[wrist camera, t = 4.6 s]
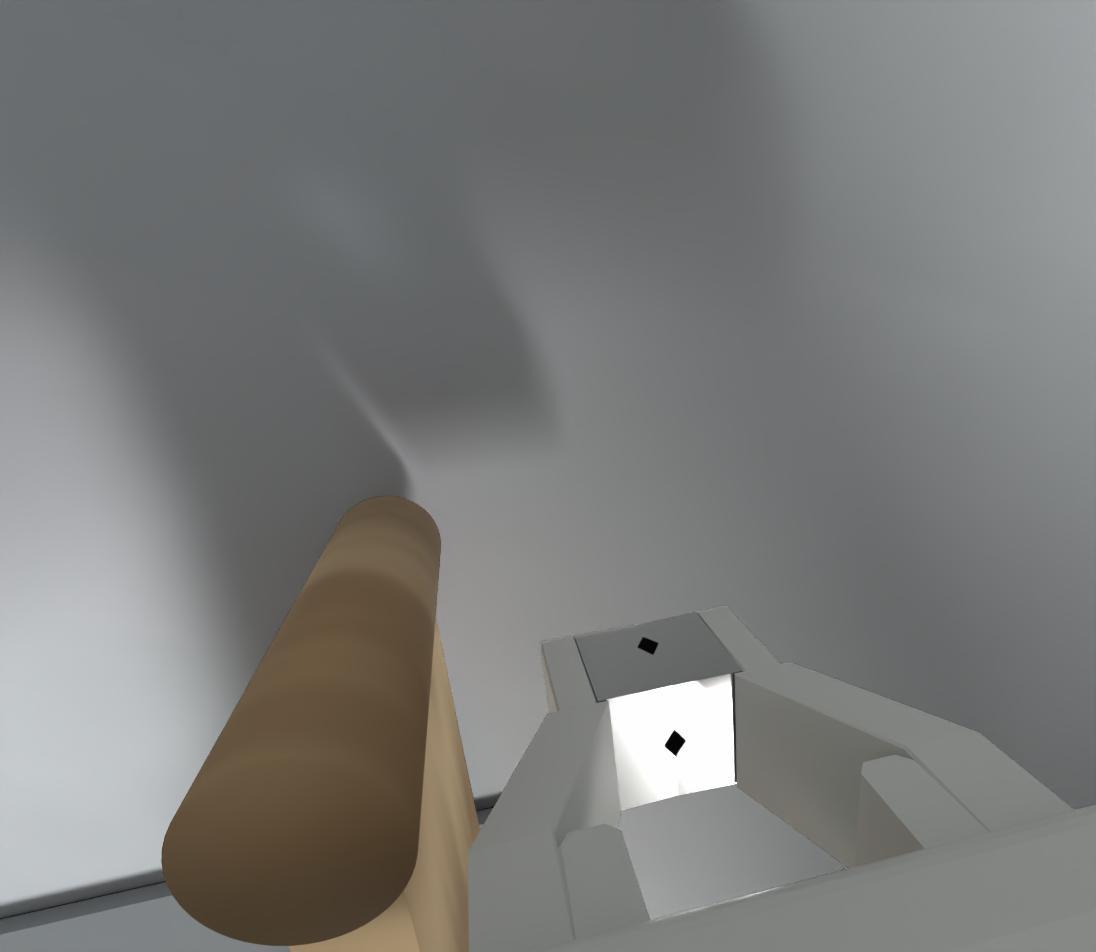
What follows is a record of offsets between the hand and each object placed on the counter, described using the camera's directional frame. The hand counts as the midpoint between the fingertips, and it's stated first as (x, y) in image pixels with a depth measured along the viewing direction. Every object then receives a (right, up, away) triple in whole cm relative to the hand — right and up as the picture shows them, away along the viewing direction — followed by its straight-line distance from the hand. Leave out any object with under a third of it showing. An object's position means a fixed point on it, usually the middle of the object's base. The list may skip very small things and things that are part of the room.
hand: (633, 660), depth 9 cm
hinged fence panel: (-4, -3, +4) cm, 6 cm away
